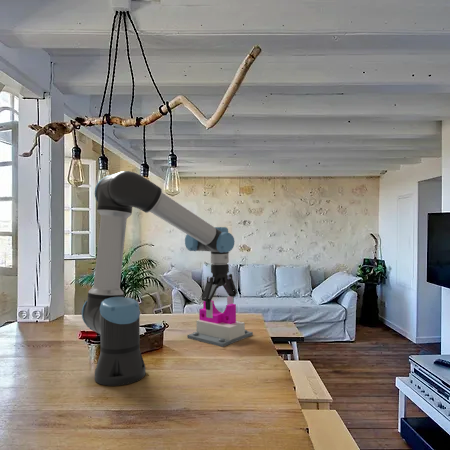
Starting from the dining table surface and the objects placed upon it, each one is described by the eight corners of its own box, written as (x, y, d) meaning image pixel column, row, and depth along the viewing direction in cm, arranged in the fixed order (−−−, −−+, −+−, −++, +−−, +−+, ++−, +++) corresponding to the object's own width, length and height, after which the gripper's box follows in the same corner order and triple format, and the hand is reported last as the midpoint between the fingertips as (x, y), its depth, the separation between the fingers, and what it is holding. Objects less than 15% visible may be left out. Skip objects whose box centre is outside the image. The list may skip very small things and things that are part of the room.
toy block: (199, 319, 160) (199, 302, 160) (209, 317, 165) (209, 300, 165) (226, 325, 150) (226, 306, 150) (235, 322, 155) (235, 304, 155)
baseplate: (222, 346, 142) (222, 330, 143) (187, 337, 155) (187, 322, 155) (252, 335, 158) (252, 320, 158) (218, 327, 170) (218, 314, 170)
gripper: (206, 266, 144) (206, 321, 144) (244, 261, 164) (245, 310, 164) (192, 265, 149) (193, 318, 149) (231, 261, 168) (231, 308, 168)
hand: (220, 314), depth 156 cm, fingers open, 13 cm apart
